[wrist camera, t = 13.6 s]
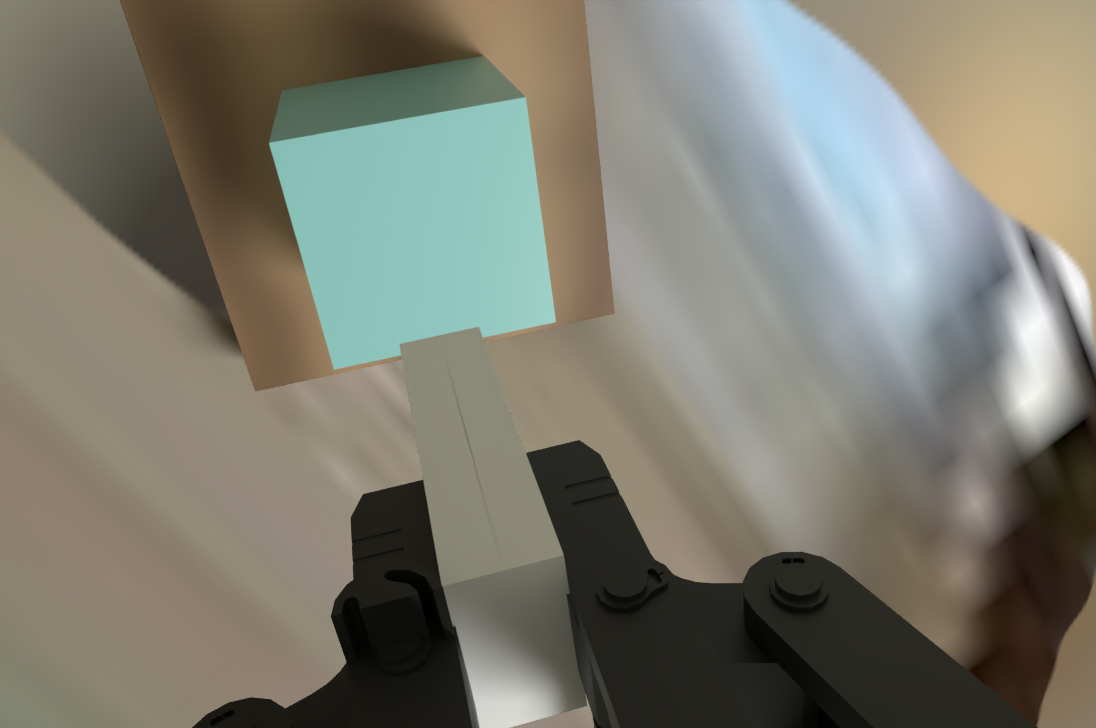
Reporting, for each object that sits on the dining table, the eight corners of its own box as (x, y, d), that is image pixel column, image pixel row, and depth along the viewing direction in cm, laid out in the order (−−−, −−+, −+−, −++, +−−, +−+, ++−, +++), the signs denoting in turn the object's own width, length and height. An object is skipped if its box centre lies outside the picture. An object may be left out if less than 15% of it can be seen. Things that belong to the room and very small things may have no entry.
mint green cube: (333, 278, 31) (334, 369, 25) (282, 90, 27) (268, 142, 21) (512, 242, 32) (556, 321, 26) (483, 55, 28) (526, 96, 22)
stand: (260, 360, 34) (243, 467, 28) (132, -20, 27) (71, 4, 21) (597, 289, 36) (655, 373, 30) (557, -84, 29) (622, -80, 23)
